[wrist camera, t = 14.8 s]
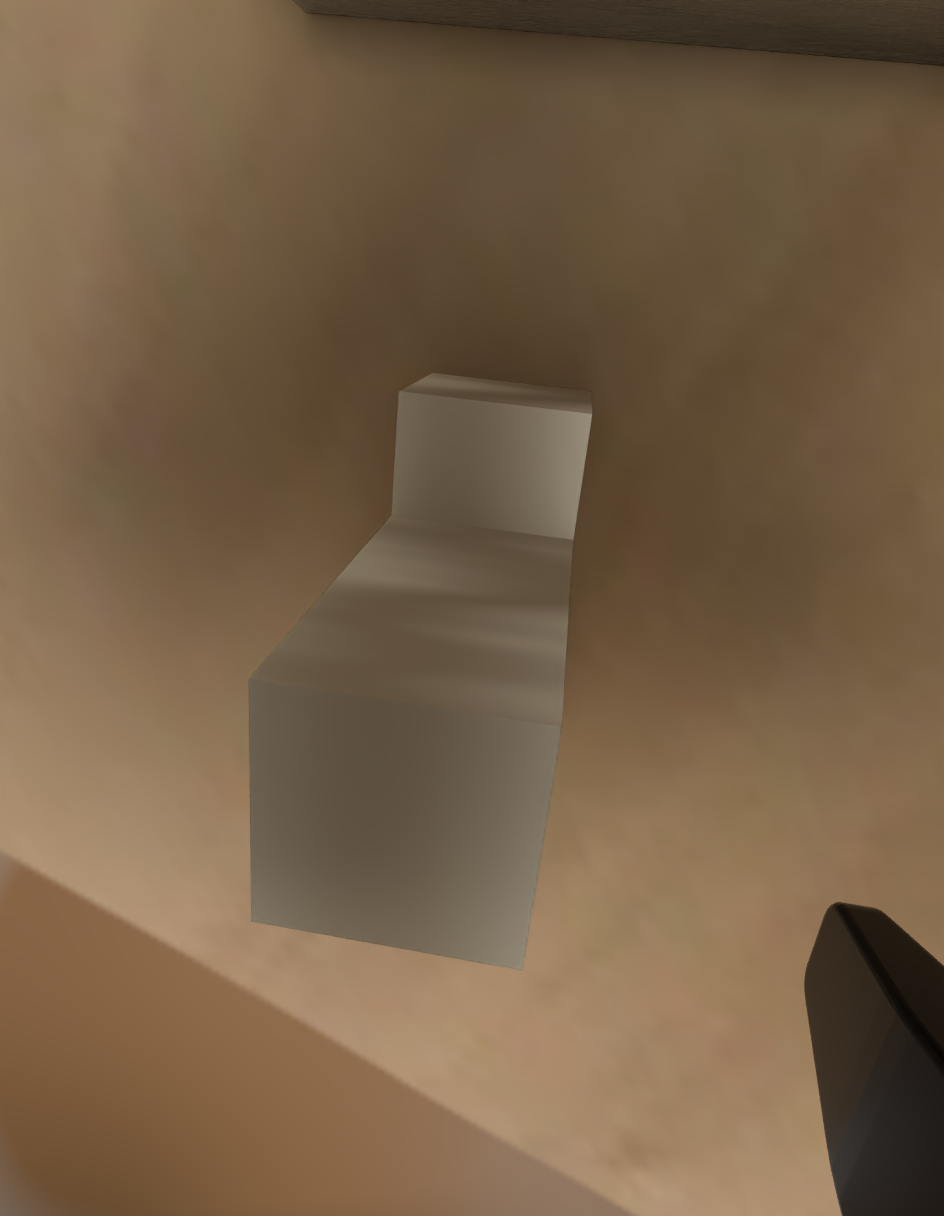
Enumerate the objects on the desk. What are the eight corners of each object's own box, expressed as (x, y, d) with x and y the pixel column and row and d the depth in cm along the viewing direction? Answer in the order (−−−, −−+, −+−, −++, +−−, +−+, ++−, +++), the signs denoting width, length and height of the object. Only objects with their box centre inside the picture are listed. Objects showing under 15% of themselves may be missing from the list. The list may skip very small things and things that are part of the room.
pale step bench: (591, 391, 15) (595, 518, 7) (542, 717, 18) (502, 1099, 9) (433, 372, 15) (246, 473, 7) (408, 696, 18) (252, 1051, 10)
